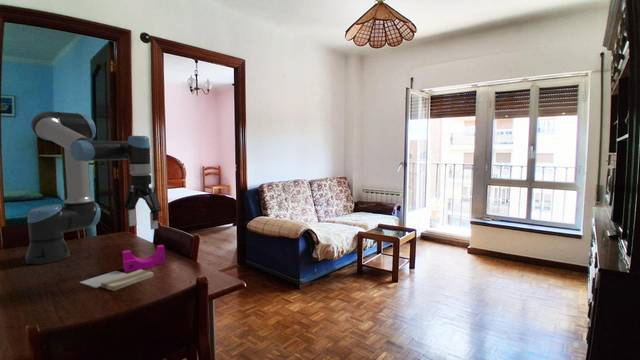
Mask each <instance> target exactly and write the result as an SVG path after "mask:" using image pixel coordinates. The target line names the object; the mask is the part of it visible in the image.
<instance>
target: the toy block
mask: <svg viewBox="0 0 640 360" xmlns="http://www.w3.org/2000/svg"><path fill="white" fill-rule="evenodd" d="M165 248H166V247H165V245H164V244H158V245H157V246H156V249H155V251H154V252H153V253H152V254H151V255H150V256H148V257H144V258H141V257H136V256H135V255H134V254H132V250H131V249H127V250H122V251H121V252H122V267H123V270H124V271H123V272H124V273H126V274H128V273H131V272H134V271H137V270H140V269H142V270H143V269H144V270H148V269H147V268H149V269H153V267H154V268H155V266H159V265H158V264H160V265H164V264H163V263H165V264H166V251H165ZM154 265H155V266H154Z"/></svg>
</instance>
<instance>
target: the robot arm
mask: <svg viewBox="0 0 640 360" xmlns="http://www.w3.org/2000/svg"><path fill="white" fill-rule="evenodd" d="M30 128H31V130H32V132H33V134H35V136H36V137H38V138H41V139H42V140H45V141H46V140H47V141H51V142H53V143H55V144H57V145H59V146H60V147H62V148H64V150H63V151H64V163H65V178H66V179H65V181H66V192H67V198H66V199H65V200H64V201H63V206H62V205H61V204H58V203H55V204H54V203H53V204H50V205H49V204H47V205H42V206H38V207H34V208H32V209H30V210H29V211H28V212H27V220H26V222H27V227H28V239H29V246H28V249H27V252H26V254H25V263H26V264H28V265H43V264H51V263H55V262H59V261H62V260H65V259H68V258H69V257H70V256H71V254H70V249H69V247H68V245H67V243H66V240H65V239H64V233H69V232H73V231H77V230H85V229H89V228H93V227H95V226H97V224H98V223H99V222H100V220H101V219H100V218H101V215H102V214H101V213H102V212H101V208H100V205H99V204H98V203H96V202H95V199H93V198H92V197H91V192H90V189H91V188H90V175H89V161H90V162H93V161H124V160H126V161H127V160H128V164H129V175H130V177H129V179H130V180H129V181H130V185H129V186H127V193H126V197H125V202H124V206H123V207H124V209H126V210H127V213H128V216H127V217H128V225H129V227H133V226H137V225H138V224H137V210H136V209H137V208H136V206H137V204H138V202H139V200H140V199H143V201H145V203H146V205H147V207H148V209H149V210H150V212H149V220H150V221H149V223H150V224H149V225H150V231H151V230H156V229H159V222H158V221H159V212H162V210H163V208H162V206H161V203H160V201H159V198H158V195H157V193H156V187H154V186H152V187H151V186H150V185H151V184H152V182H153V181H152V175H151V174H152V164H151V145H150V138H149V137H148V136H147V135H129V136H128V137H127V140H126V141H125V140H124V141H123V140H122V141H119V140H93V139H94V138H95V137H96V134H97V131H96V130H97V129H96V124H95V122H94V120H93V119H92V118H91V116H89V115H87V114H83V113H79V112H63V111H62V112H60V111H52V110H49V111H42V112H40V113H38V114H37V115H35V116H34V117H33V118H32V119H31V122H30Z"/></svg>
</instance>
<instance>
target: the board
mask: <svg viewBox="0 0 640 360" xmlns="http://www.w3.org/2000/svg"><path fill="white" fill-rule="evenodd" d="M153 277H154V272H153V271H149V270H147V269H144V270H142V269H140V270H137V271H133V272H128V273H126V274H125V275H122V276H119V277H116V278H113V279H110V280H107V281H104V282H101V286H100V288H103V289H107V290H110V291H119V290H120V289H123V288H126V287H128V286H131V285H133V284H136V283H140V282H141V281H144V280H147V279H150V278H153Z"/></svg>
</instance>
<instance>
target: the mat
mask: <svg viewBox="0 0 640 360" xmlns="http://www.w3.org/2000/svg"><path fill="white" fill-rule="evenodd" d="M125 274H127V273H125V272H124V271H123V272H122V271H118V270H113V271H111V272H107V273H104V274H101V275H97V276H95V277H92V278H91V277H90V278H88V279H85V280H82V281H79V284H81V285H85V286H88V287H91V288H94V289H98V288H101V282H104V281H107V280H110V279H113V278H116V277H119V276H122V275H125Z"/></svg>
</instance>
